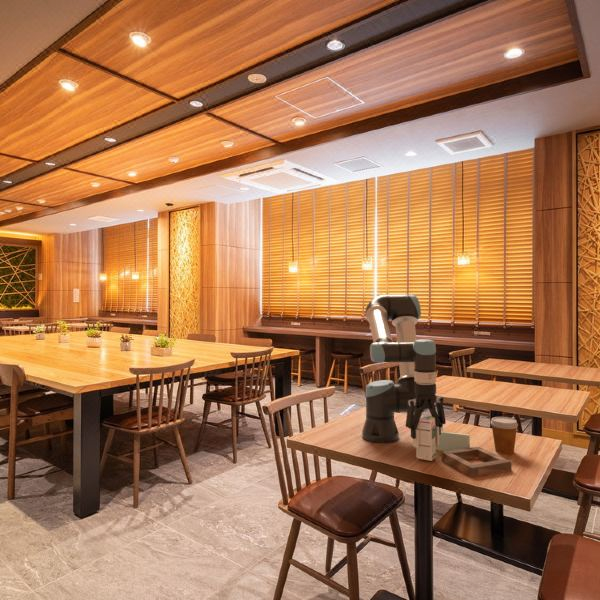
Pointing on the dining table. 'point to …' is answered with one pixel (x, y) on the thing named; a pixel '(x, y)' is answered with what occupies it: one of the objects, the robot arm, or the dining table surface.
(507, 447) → the disposable coffee cup
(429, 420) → the syrup box
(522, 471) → the dining table surface
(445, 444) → the l-shaped corner panel
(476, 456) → the socket block
